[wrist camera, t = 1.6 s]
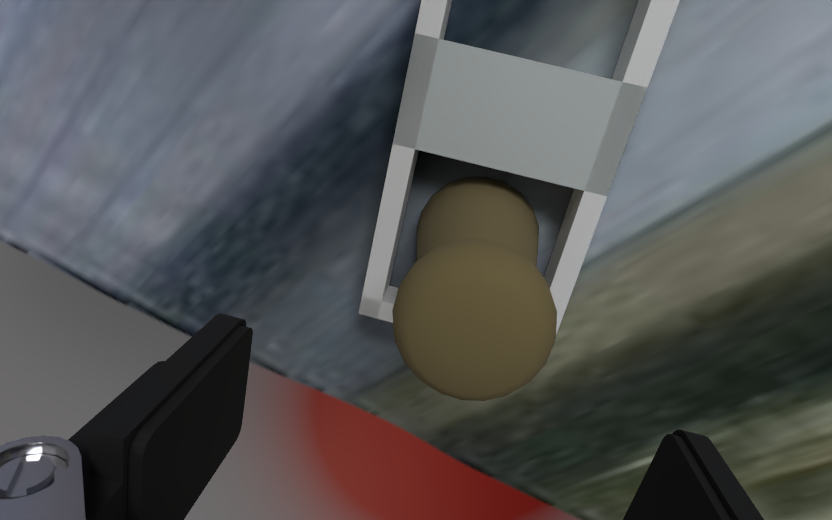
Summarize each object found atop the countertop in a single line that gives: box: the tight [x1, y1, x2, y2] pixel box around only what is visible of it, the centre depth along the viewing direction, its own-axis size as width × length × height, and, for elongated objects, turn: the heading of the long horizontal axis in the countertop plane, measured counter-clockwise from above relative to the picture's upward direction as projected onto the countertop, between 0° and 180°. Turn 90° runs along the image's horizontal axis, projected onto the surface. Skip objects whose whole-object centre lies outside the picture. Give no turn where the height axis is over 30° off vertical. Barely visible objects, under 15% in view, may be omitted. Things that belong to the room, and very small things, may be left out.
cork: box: [392, 177, 557, 401], centre depth 19 cm, size 6×6×11 cm
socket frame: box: [359, 0, 680, 334], centre depth 21 cm, size 10×22×2 cm, turn 167°
